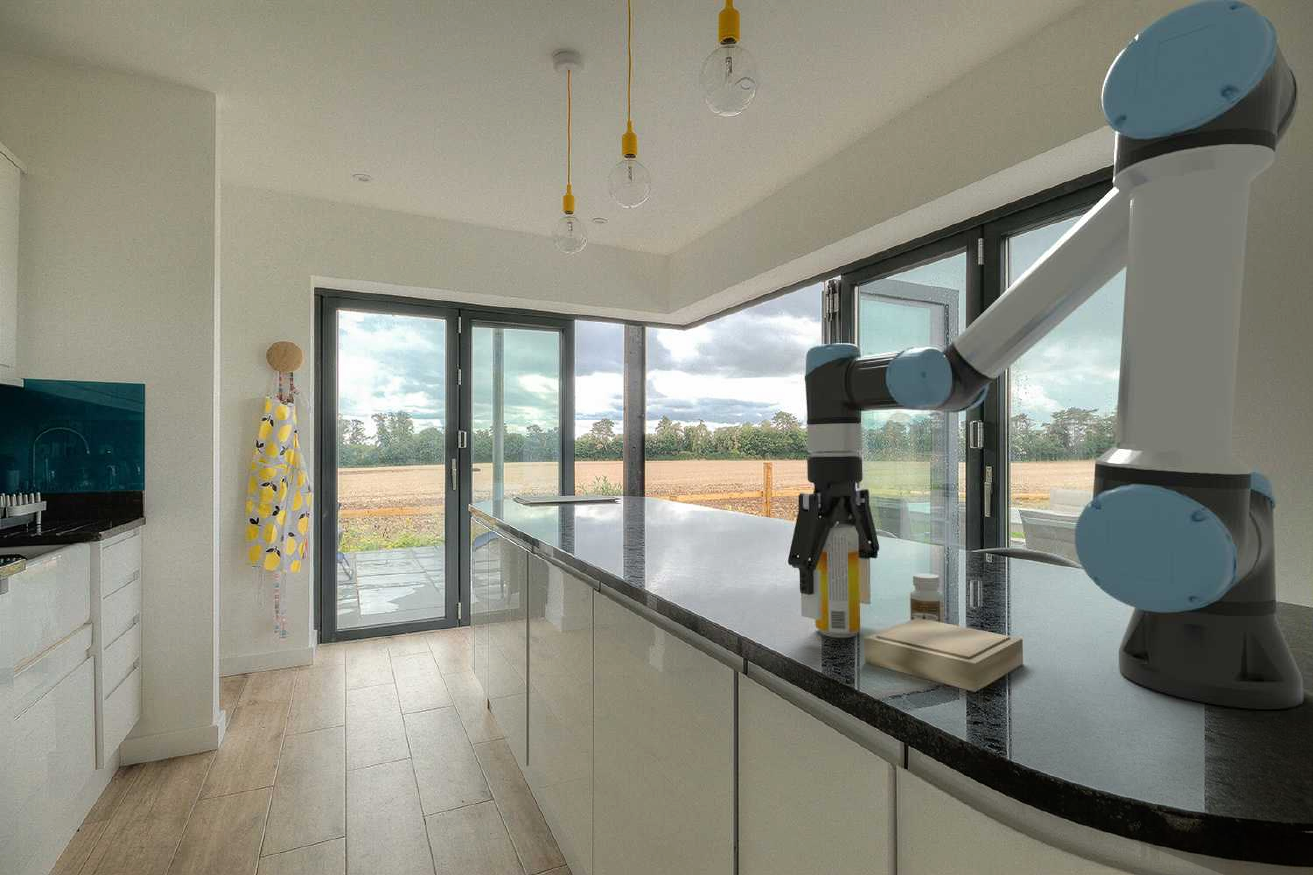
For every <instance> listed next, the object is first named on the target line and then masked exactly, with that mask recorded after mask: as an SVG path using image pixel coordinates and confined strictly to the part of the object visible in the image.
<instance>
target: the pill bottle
mask: <svg viewBox="0 0 1313 875" xmlns="http://www.w3.org/2000/svg"><path fill="white" fill-rule="evenodd" d="M912 584H913V586H914V588H913V589H912V590H910V592H909V609H910V610H909V611H910V614H909V615H910V617H909V618H910V620H909V621H911V620H914V619H916V618H921V619H926V620H931V621H936V622H941V623H945V613H944V612H945V609H944V608H945V606H944V605H945V604H944V600H945V599H944V593H943V591H941V590H939V588H940V584H941V583H940V576H939V575H938V574H933V573H925V572H924V573H923V572H921V573H913V575H912Z"/></svg>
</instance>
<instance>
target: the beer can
mask: <svg viewBox="0 0 1313 875" xmlns="http://www.w3.org/2000/svg"><path fill="white" fill-rule="evenodd" d="M816 569H817V570H821V614H822V619H820V620H816V619H814V620H815V622H814V623H815V627H816V628H817V629H818V631H819V633H820V634H821V635H823V636H827V637H831V638H838V639H839V638H840V639H843V638H845V639H846V638H851V637H852V638H853V637H855V636H857V633H858V632H859V631H860V630H861V603H860V590H859V542H858V533H857V531H856V529H855V526H854V525H849V524H841V523H836V524H835V526H834V527H832V528H831V529H830V531H829V534H828V537H827V539H826V542H825V545H824V548H823V551H822V553H821V556H820V559H819V562H818V564H817V567H816Z"/></svg>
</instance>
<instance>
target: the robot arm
mask: <svg viewBox="0 0 1313 875" xmlns="http://www.w3.org/2000/svg"><path fill="white" fill-rule="evenodd" d="M1283 54H1284V53H1283V51H1282V50H1281V48H1280V46H1279V44H1278V35H1277V30H1276V28H1275V27H1274V25H1273V24H1272V21H1270V20H1269V18H1267V17H1266V16H1265V15H1262V13H1261V12H1260V11H1258V9H1256V8H1255V7H1253V6H1251V5H1250V4H1247V3H1245V2H1242V1H1239V0H1201V1H1197V2H1194V3H1190V4H1187V5H1184V6H1182V7H1180V8H1177V9H1175V10H1173V11H1171V12H1168V13H1167V14H1165V15H1163V16H1162V17H1160V18H1158V19H1156V20H1155V21H1153V22H1152V23H1151V24H1149V25H1148V26H1146V27H1145V28H1143V29H1142V30H1141V31H1140V32H1139V33H1138V34H1137V35H1136V36H1135V37H1134V38H1133V39H1131V41H1130V42H1129V43H1128V45H1127V46H1126V47H1125V48H1123V49H1122V50H1121V52H1119V53H1118V55H1117V57H1116V58H1115V60H1114V61H1113V63H1112V64H1111V65H1110V68H1109V70H1108V72H1107V74H1106V77H1105V80H1104V82H1103V86H1102V90H1101V105H1102V109H1103V113H1104V118H1105V120H1106V123H1107V124H1108V126H1109V127H1110V128H1111V129H1112V130H1114V131H1115V144H1114V145H1115V147H1114V158H1113V159H1114V160H1113V161H1114V162H1113V178H1112V183H1113V184H1112V185H1113V188H1112V189H1111V190H1110V191H1109V192H1108V193H1107V194H1106V195H1104V197H1103V198H1102V199H1100V200H1099V202H1097V203H1096V205H1094V206H1093V207H1092V208H1091V209H1090V210H1089V211H1088V212H1087V213H1085V215H1084V216H1083V217H1082V218H1080V220H1079V221H1078V222H1076V224H1074V225H1073V227H1071V228H1070V229H1069V230H1068V231H1067V232H1066V233H1065V234H1064V235H1063V236H1062V237H1061V238H1060V239H1059V240H1058V241H1057V242H1055V244H1053V246H1051V248H1049V250H1047V251H1046V252H1045V253H1044V254H1043V255H1042V256H1041V257H1040V258H1039V259H1038V260H1037V261H1035V263H1033V265H1032V266H1031V267H1029V268H1028V269H1027V270H1026V271H1025V272H1024V273H1023V274H1022V275H1021V276H1020V277H1019V278H1018V279H1016V281H1014V283H1013V284H1012V285H1010V287H1009V288H1008V289H1006V290H1005V291H1004V292H1003V293H1002V294H1001V295H1000V296H999V297H998V298H997V299H996V300H995V301H994V302H992V304H991V305H990V306H989V307H988V308H986V310H984V312H983V313H981V314H980V315H979V316H978V317H977V318H976V319H975V320H974V321H973V322H972V323H971V324H970V325H969V326H968V327H967V328H966V329H964V330H963V331H962V333H961V334H959V335H958V336H957V337H956V338H955V339H954V340H953V341H952V342H951V343H950V344H949V345H948V346H947V347H946V348H944V349H943V350H942V351H941V349H939V348H936V347H931V346H928V347H919V348H917V347H907V348H905V349H902V350H901V349H900V350H896V351H895V350H894V351H889V352H888V351H887V352H883V353H876V354H869V355H861V350H860V348H859V346H858V345H856V344H854V343H847V342H846V343H844V342H843V343H842V342H840V343H839V342H837V343H827V344H826V343H825V344H819V345H815V346H813V347H811V348H809V349H808V350H807V353H806V357H805V358H806V359H805V360H806V361H805V375H804V381H805V384H804V385H805V400H806V416H807V418H806V426H807V427H806V435H807V436H806V440H807V442H806V445H807V446H806V450H807V452H808V453H811V456H809V457H808V459H806V465H807V466H806V468H807V471H806V472H807V480H808V482H809V483H811V484H812V483H813V486H814V487H813V492H812V493H802V492H801V493H799V495H798V511H797V516H796V522H795V526H794V529H793V535H792V539H791V544H790V549H789V553H788V559H787V563H788V565H789V566H791V567H792V568H794V569H798V571H799V572H798V573H799V591H800V592H799V593H800V595H801V596H800V598H801V599H800V600H801V601H800V604H801V606H800V607H801V610H800V611H801V617H804V618H808V619H812V620H815V619H816V620H820V619H822V614H821V570H817V569H816V567H817V564H818V562H819V559H820V556H821V553H822V551H823V548H824V545H825V542H826V539H827V537H828V534H829V531H830V529H831V528H832V527H834V526H835V524H837V523H838V522H839V524H849V525H854V526H855V529H856V531H857V533H858V542H859V590H860V604H863V605H871V604H872V603H871V601H872V600H871V597H872V596H871V559H877V558H878V552H880V551H879V550H880V544H879V540H878V536H877V531H876V528H875V523H874V519H873V514H872V510H871V506H870V491H869V489H868V488H867V489H866V488H856V485H855V484H859V483H861V482H863V481H862V480H863V458H861V456H859V453H861V452H862V451H863V434H862V432H863V431H862V412H869V411H886V410H888V411H889V410H891V411H892V410H907V411H908V410H909V411H933V412H934V411H935V412H944V413H960V412H966V411H969V410H973V409H975V408H976V407H978V406H979V405H980V404H982V403H983V401H984V400H985V398H986V397H987V395H988V392H989V389H990V384H991V383H992V382H993V381H994V380H995V379H996V378H998V377H999V376H1000V375H1001V374H1002V373H1004V372H1005V371H1006V370H1007V369H1009V367H1010V366H1012V365H1013V364H1014V363H1015V362H1016V361H1018V360H1019V359H1020V358H1022V356H1024V355H1025V353H1027V352H1028V351H1030V350H1031V348H1033V347H1034V346H1035V345H1036V344H1038V343H1039V342H1040V341H1041V340H1042V339H1044V337H1045V336H1046V335H1048V334H1049V333H1050V332H1051V331H1052V330H1054V329H1055V328H1056V327H1057V326H1059V325H1060V324H1061V323H1062V322H1063V321H1065V319H1066V318H1067V317H1069V316H1070V315H1071V314H1073V312H1075V311H1076V310H1077V309H1078V308H1079V307H1080V306H1081V305H1083V304H1084V303H1086V302H1087V301H1088V299H1089V298H1092V297H1093V295H1095V294H1096V293H1097V292H1098V291H1099V290H1101V289H1102V288H1103V287H1104V286H1105V285H1106V284H1108V282H1110V281H1111V280H1113V279H1114V278H1115V276H1117V275H1118V274H1119V273H1121V271H1123V270H1124V269H1125V268H1126V269H1125V270H1126V272H1125V281H1124V282H1125V284H1124V285H1125V286H1124V300H1123V302H1124V303H1123V313H1122V314H1123V316H1122V331H1121V343H1120V344H1121V346H1120V361H1119V363H1120V364H1119V373H1118V374H1119V375H1118V376H1119V378H1118V390H1117V408H1116V422H1115V423H1116V424H1115V435H1114V436H1115V440H1114V443H1113V445H1112V447H1111V448H1109V449H1108V450H1106V451H1105V452H1104V453H1103V454H1101V455H1100V456H1099V457H1097V458H1096V459H1095V462H1094V475H1093V476H1094V478H1093V490H1092V491H1093V493H1092V500H1091V501H1089V502H1088V503H1087V504H1086V505H1085V507H1084V508H1083V510H1082V512H1081V514H1080V515H1079V517H1078V519H1077V520H1076V521H1077V522H1076V524H1075V529H1074V533H1073V537H1074V538H1073V539H1074V541H1073V542H1074V548H1075V552H1076V555H1077V558H1078V560H1079V563H1080V565H1081V568H1082V569H1083V571H1084V572H1085V574H1086V575H1087V576H1088V577H1089V578H1090V580H1091V581H1092V582H1093V583H1095V585H1096V586H1098V588H1099V589H1100V590H1101V591H1103V592H1104V593H1106V594H1107V595H1108V596H1110V597H1111V598H1113V599H1114V600H1116V601H1118V602H1120V603H1123V604H1125V605H1127V606H1130V607H1131V608H1134V609H1133V611H1132V614H1131V617H1130V619H1129V622H1128V624H1127V627H1126V629H1125V632H1124V635H1123V638H1122V641H1121V642H1120V646H1119V648H1118V670H1119V671H1120V673H1121V674H1122V675H1123V676H1124V677H1125V678H1127V679H1128V680H1130V681H1132V682H1134V683H1136V684H1139V685H1141V686H1143V687H1144V688H1148V689H1152V690H1153V691H1158V692H1161V693H1163V694H1167V695H1171V696H1174V697H1177V698H1181V699H1186V700H1190V701H1195V702H1200V703H1206V704H1209V705H1210V704H1211V705H1218V706H1224V707H1231V708H1241V709H1252V710H1253V709H1255V710H1279V709H1290V708H1294V707H1296V706H1297V707H1298V706H1300V705H1301V704H1303V702H1304V683H1303V682H1304V681H1303V676H1302V674H1301V672H1300V669H1299V666H1298V665H1297V663H1296V660H1295V659H1294V656H1293V654H1292V651H1291V649H1290V647H1289V645H1288V643H1287V641H1286V638H1285V635H1284V634H1283V631H1282V628H1281V626H1280V625H1279V621H1278V617H1277V616H1278V615H1277V587H1276V585H1277V584H1276V581H1277V580H1276V555H1275V554H1276V553H1275V527H1274V526H1275V525H1274V520H1275V519H1274V510H1275V507H1276V505H1277V500H1276V498H1275V496H1274V493H1273V487H1272V481H1271V480H1270V478H1268V476H1267V475H1265V474H1263V473H1262V472H1259V471H1256V470H1252V469H1251V468H1250V467H1249V466H1247V464H1246V463H1244V462H1243V461H1242V460H1241V459H1240V458H1239V457H1238V456H1237V455H1235V453H1234V451H1233V450H1232V449H1231V445H1232V435H1233V434H1232V432H1233V418H1234V408H1235V407H1234V405H1235V391H1236V379H1237V378H1236V377H1237V376H1236V375H1237V365H1238V350H1239V339H1240V338H1239V337H1240V336H1239V335H1240V325H1241V323H1240V322H1241V308H1242V296H1243V295H1242V292H1243V285H1244V283H1243V282H1244V266H1245V255H1246V241H1247V227H1248V226H1247V225H1248V214H1249V212H1248V211H1249V201H1250V200H1249V199H1250V185H1251V183H1252V182H1253V181H1254V179H1255V178H1257V177H1258V176H1259V175H1260V174H1262V173H1263V172H1265V170H1266V169H1268V168H1269V167H1270V166H1271V165H1272V164H1273V162H1274V161H1275V159H1276V148H1277V146H1278V144H1279V143H1280V142H1281V140H1282V139H1283V138H1284V136H1285V135H1286V133H1287V131H1288V130H1289V128H1290V126H1291V124H1292V122H1293V120H1294V117H1295V115H1296V110H1297V107H1298V105H1299V104H1298V102H1299V101H1298V100H1299V89H1298V85H1297V80H1296V77H1295V75H1294V73H1293V71H1292V69H1291V68H1290V67H1289V66H1290V65H1289V64H1288V62H1287V60H1286V58H1285V57H1284V55H1283Z"/></svg>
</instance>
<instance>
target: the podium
mask: <svg viewBox="0 0 1313 875" xmlns="http://www.w3.org/2000/svg"><path fill="white" fill-rule="evenodd" d="M1023 642H1024V641H1023V638H1021V637H1017V636H1012V635H1011V636H1010V635H1005V634H1000V633H996V632H991V631H985V630H981V629H975V628H971V627H965V626H961V625H957V624H956V625H955V624H949V623H947V622H944V623H941V622H936V621H931V620H926V619H921V618H916V619H914V620H911V621H910V620H909V621H906V622H902V623H901V624H898V625H895V626H893V627H890V628H887V629H885V630H884V629H883V630H881V631H879V632H876V633H873V634H871V635H868V636H864V656H865V657H864V663H866V664H870V665H873V666H878V667H881V668H884V669H888V670H892V671H895V672H900V673H903V674H906V675H911V676H914V677H918V678H921V679H926V680H929V681H933V682H937V683H941V684H944V685H948V686H952V687H955V688H960V689H963V690H966V691H970V692H974V693H976V692H977V691H980V690H981V689H983V688H984V687H986V686H988V685H990V684H991V683H994V682H995V681H997V680H998V679H999V678H1002V677H1004V676H1005V675H1007V674H1008V673H1010V672H1012V671H1013V670H1015V669H1017V668H1019V667H1021V666H1023V665H1024V655H1023V654H1024V652H1023V651H1024V649H1023V647H1024V646H1023Z"/></svg>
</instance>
